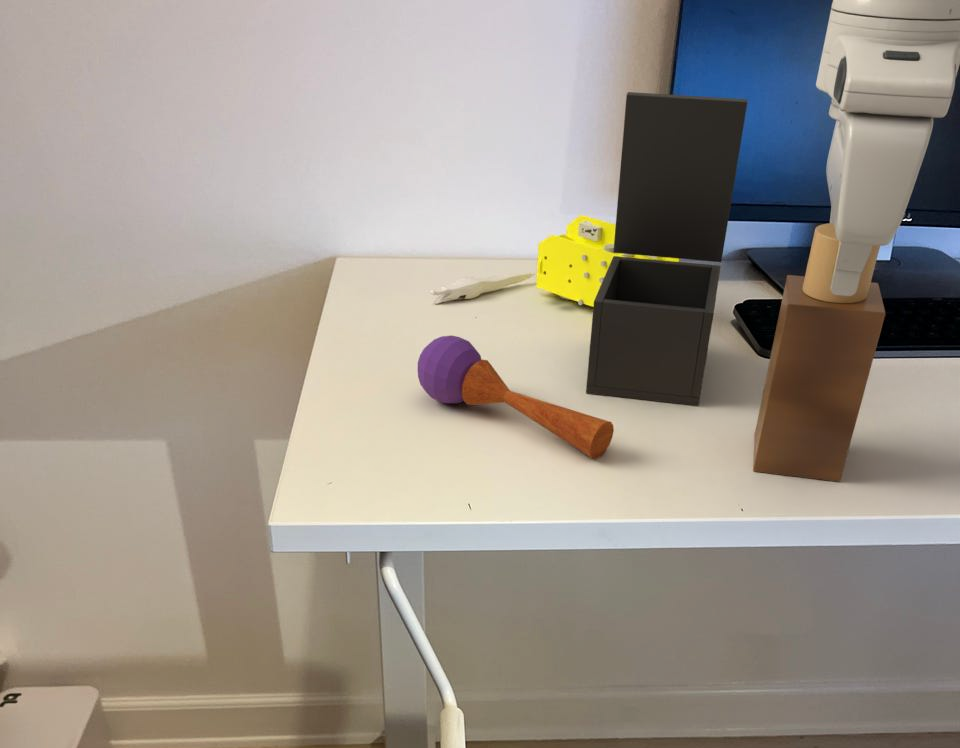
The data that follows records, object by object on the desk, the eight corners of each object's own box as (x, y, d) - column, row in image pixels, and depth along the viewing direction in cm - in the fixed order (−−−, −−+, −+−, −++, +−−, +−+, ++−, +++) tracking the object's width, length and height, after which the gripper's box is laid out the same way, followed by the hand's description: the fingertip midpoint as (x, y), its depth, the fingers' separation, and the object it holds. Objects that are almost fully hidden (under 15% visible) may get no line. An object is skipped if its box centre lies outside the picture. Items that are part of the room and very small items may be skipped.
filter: (864, 285, 77) (880, 225, 75) (869, 306, 74) (885, 243, 71) (801, 280, 78) (814, 220, 75) (802, 300, 74) (816, 238, 72)
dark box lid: (747, 101, 87) (750, 83, 90) (626, 94, 88) (634, 76, 92) (721, 262, 97) (724, 239, 100) (613, 252, 99) (620, 231, 102)
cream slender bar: (437, 308, 112) (437, 291, 110) (424, 301, 113) (424, 284, 112) (541, 284, 119) (542, 268, 117) (528, 278, 120) (529, 262, 119)
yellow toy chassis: (674, 320, 110) (685, 242, 105) (642, 332, 107) (651, 253, 102) (566, 284, 119) (571, 210, 114) (534, 294, 116) (537, 219, 111)
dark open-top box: (698, 406, 92) (713, 312, 87) (585, 393, 94) (593, 300, 89) (706, 352, 103) (720, 265, 97) (605, 341, 105) (613, 255, 99)
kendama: (581, 428, 79) (400, 345, 88) (579, 486, 84) (407, 401, 93) (624, 393, 82) (445, 315, 91) (620, 451, 87) (449, 371, 96)
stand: (836, 444, 87) (878, 282, 78) (839, 482, 81) (885, 313, 73) (754, 434, 88) (787, 274, 79) (752, 471, 82) (787, 303, 74)
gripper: (833, 40, 75) (794, 231, 84) (847, 85, 59) (797, 314, 68) (920, 45, 74) (872, 237, 82) (959, 91, 58) (894, 323, 67)
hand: (838, 272), depth 75 cm, fingers open, 8 cm apart
